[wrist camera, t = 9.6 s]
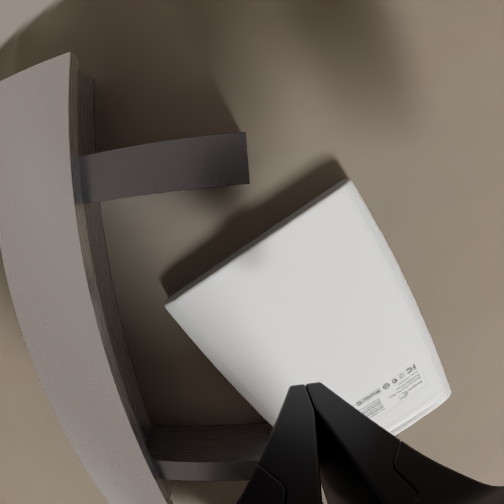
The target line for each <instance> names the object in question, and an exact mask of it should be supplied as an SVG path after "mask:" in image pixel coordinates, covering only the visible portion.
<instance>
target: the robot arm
mask: <svg viewBox="0 0 504 504" xmlns="http://www.w3.org/2000/svg"><path fill="white" fill-rule="evenodd" d="M321 484H322V488H323V491H324V494H325V497H326V500H327V503H328V504H504V486H491V485H487V484H484V483H481V482H478V481H476V480H474V479H471V478H469V477H467V476H465V475H462V474H460V473H458V472H456V471H454V470H452V469H449V468H447V467H445V466H443V465H441V464H439V463H437V462H435V461H433V460H432V459H430V458H428V457H426V456H424V455H423V454H421V453H419V452H418V451H416V450H415V449H413V448H412V447H410V446H409V445H407V444H406V443H404V442H403V441H401V442H400V439H398V438H397V437H395V436H394V435H392V434H391V433H389V432H388V431H387V430H385V429H384V428H382V427H381V426H379V425H378V424H377V423H375V422H374V421H372V420H371V419H370V418H368V417H367V416H365V415H364V414H363V413H361V412H360V411H359V410H357V409H356V408H354V407H353V406H352V405H350V404H349V403H348V402H346V401H345V400H344V399H342V398H341V397H340V396H338V395H337V394H336V393H334V392H333V391H332V390H330V389H329V388H328V387H326V386H325V385H324V384H322V383H321V382H316V383H308V384H306V386H305V385H304V384H300V385H292V386H290V387H289V389H288V392H287V395H286V397H285V400H284V402H283V405H282V407H281V410H280V412H279V415H278V417H277V420H276V422H275V425H274V427H273V429H272V432H271V434H270V437H269V439H268V441H267V444H266V446H265V448H264V451H263V453H262V455H261V458H260V460H259V462H258V464H257V467H256V468H255V471H254V473H253V475H252V477H251V479H250V481H249V483H248V485H247V487H246V489H245V491H244V492H243V494H242V495H241V497H240V499H239V500H238V502H237V503H236V504H323V502H322V494H321Z"/></svg>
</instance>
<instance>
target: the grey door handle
mask: <svg viewBox="0 0 504 504" xmlns="http://www.w3.org/2000/svg"><path fill="white" fill-rule="evenodd" d="M78 59H79V57H78V56H77V55H75V54H73V53H72V52H68V53H65V54H62V55H60V56H57V57H54V58H52V59H49V60H46V61H44V62H42V63H39V64H37V65H34V66H32V67H30V68H27V69H25V70H23V71H21V72H18V73H16V74H14V75H12V76H10V77H8V78H6V79H4V80H2V81H0V249H1V254H2V259H3V264H4V269H5V273H6V278H7V282H8V286H9V290H10V294H11V298H12V301H13V305H14V308H15V312H16V315H17V319H18V322H19V325H20V328H21V331H22V334H23V337H24V340H25V343H26V346H27V349H28V351H29V354H30V357H31V360H32V362H33V365H34V367H35V370H36V372H37V375H38V377H39V380H40V382H41V384H42V387H43V389H44V391H45V393H46V396H47V398H48V400H49V402H50V404H51V406H52V409H53V411H54V413H55V415H56V417H57V419H58V421H59V423H60V425H61V427H62V429H63V430H64V432H65V434H66V436H67V438H68V440H69V442H70V443H71V445H72V447H73V449H74V450H75V452H76V454H77V456H78V457H79V459H80V461H81V462H82V464H83V466H84V467H85V469H86V470H87V472H88V474H89V475H90V477H91V478H92V480H93V481H94V483H95V484H96V486H97V487H98V489H99V490H100V492H101V493H102V495H103V496H104V497H105V499H106V500H107V502H108V503H109V504H173V502H172V500H171V498H170V495H171V490H172V485H173V480H189V481H236V480H250V479H251V477H252V475H253V473H254V471H255V468H256V467H257V464H258V462H259V460H260V458H261V455H262V453H263V451H264V448H265V446H266V444H267V441H268V439H269V434H268V423H256V424H240V425H216V426H169V425H151V422H150V419H149V417H148V414H147V411H146V408H145V405H144V402H143V399H142V396H141V393H140V389H139V386H138V383H137V380H136V376H135V373H134V370H133V366H132V363H131V359H130V355H129V352H128V348H127V344H126V340H125V336H124V332H123V328H122V324H121V320H120V316H119V312H118V307H117V303H116V298H115V293H114V288H113V283H112V278H111V273H110V268H109V262H108V256H107V250H106V244H105V238H104V231H103V224H102V216H101V209H100V201H105V200H111V199H118V198H125V197H132V196H140V195H147V194H155V193H163V192H171V191H180V190H189V189H198V188H208V187H218V186H229V185H241V184H250V182H249V170H248V157H247V145H246V133H245V132H239V133H227V134H217V135H208V136H199V137H190V138H183V139H175V140H168V141H161V142H155V143H148V144H142V145H136V146H131V147H125V148H120V149H114V150H109V151H104V152H99V153H95V139H94V111H93V79H92V78H91V77H89V76H87V75H86V74H84V73H82V72H80V71H79V70H78Z"/></svg>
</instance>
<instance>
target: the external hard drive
mask: <svg viewBox="0 0 504 504" xmlns="http://www.w3.org/2000/svg"><path fill="white" fill-rule="evenodd" d="M165 308H166V309H167V311H168V312H169V313H170V314H171V315H172V317H173V318H174V319H175V320H176V322H177V323H178V324H179V325H180V326H181V328H182V329H183V330H184V331H185V332H186V334H187V335H188V336H189V337H190V338H191V339H192V341H193V342H194V343H195V344H196V345H197V346H198V347H199V349H200V350H201V351H202V352H203V353H204V354H205V355H206V357H207V358H208V359H209V360H210V361H211V362H212V363H213V365H214V366H215V367H216V368H217V369H218V370H219V371H220V372H221V373H222V375H223V376H224V377H225V378H226V379H227V380H228V381H229V382H230V383H231V384H232V385H233V386H234V387H235V389H236V390H237V391H238V392H239V393H240V394H241V395H242V396H243V397H244V398H245V399H246V400H247V401H248V402H249V403H250V404H251V405H252V406H253V407H254V408H255V409H256V410H257V411H258V413H259V414H260V415H261V416H262V417H263V418H264V419H265V420H266V421H267V422H268V423H269V424H271V425H272V426H273V427H274V425H275V422H276V420H277V417H278V415H279V412H280V410H281V407H282V405H283V402H284V400H285V397H286V395H287V392H288V389H289V387H290V386H292V385H300V384H304V385H305V386H306V384H308V383H316V382H321V383H322V384H324V385H325V386H326V387H328V388H329V389H330V390H332V391H333V392H334V393H336V394H337V395H338V396H340V397H341V398H342V399H344V400H345V401H346V402H348V403H349V404H350V405H352V406H353V407H354V408H356V409H357V410H359V411H360V412H361V413H363V414H364V415H365V416H367V417H368V418H370V419H371V420H372V421H374V422H375V423H377V424H378V425H379V426H381V427H382V428H384V429H385V430H387V431H388V432H389V433H391V434H392V435H394V436H395V435H396V434H398V433H400V432H401V431H403V430H404V429H406V428H407V427H409V426H411V425H412V424H413V423H415V422H416V421H418V420H419V419H421V418H422V417H424V416H425V415H427V414H428V413H429V412H431V411H432V410H434V409H435V408H436V407H438V406H439V405H441V404H442V403H443V402H444V401H445V400H446V399H447V398H448V397H449V396H450V394H451V390H450V387H449V384H448V382H447V379H446V376H445V373H444V370H443V367H442V365H441V362H440V359H439V356H438V354H437V351H436V349H435V346H434V344H433V341H432V339H431V336H430V334H429V331H428V329H427V327H426V324H425V322H424V320H423V317H422V315H421V312H420V310H419V308H418V306H417V303H416V301H415V299H414V297H413V295H412V293H411V291H410V288H409V286H408V284H407V282H406V280H405V278H404V276H403V274H402V271H401V269H400V267H399V265H398V263H397V261H396V259H395V257H394V255H393V253H392V251H391V250H390V248H389V246H388V244H387V242H386V240H385V238H384V236H383V235H382V233H381V231H380V229H379V227H378V226H377V224H376V222H375V220H374V218H373V216H372V215H371V213H370V211H369V209H368V207H367V206H366V204H365V202H364V200H363V199H362V197H361V195H360V194H359V192H358V190H357V189H356V187H355V185H354V184H353V182H352V181H351V180H350V179H343V180H341V181H340V182H338V183H336V184H335V185H334V186H332V187H331V188H329V189H328V190H326V191H325V192H323V193H322V194H320V195H319V196H317V197H316V198H314V199H313V200H311V201H310V202H308V203H307V204H305V205H304V206H303V207H301V208H300V209H298V210H297V211H295V212H294V213H292V214H291V215H289V216H288V217H286V218H285V219H283V220H282V221H280V222H279V223H277V224H276V225H274V226H273V227H271V228H270V229H268V230H267V231H266V232H264V233H263V234H261V235H260V236H258V237H257V238H255V239H254V240H252V241H251V242H249V243H248V244H246V245H245V246H243V247H242V248H241V249H239V250H238V251H236V252H235V253H233V254H232V255H230V256H229V257H227V258H226V259H224V260H223V261H221V262H220V263H218V264H217V265H215V266H214V267H213V268H211V269H210V270H208V271H207V272H205V273H204V274H202V275H201V276H199V277H198V278H196V279H195V280H193V281H192V282H191V283H189V284H188V285H186V286H185V287H183V288H182V289H180V290H179V291H177V292H176V293H174V294H173V295H171V296H170V297H169V298H168V300H167V302H166V304H165Z"/></svg>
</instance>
